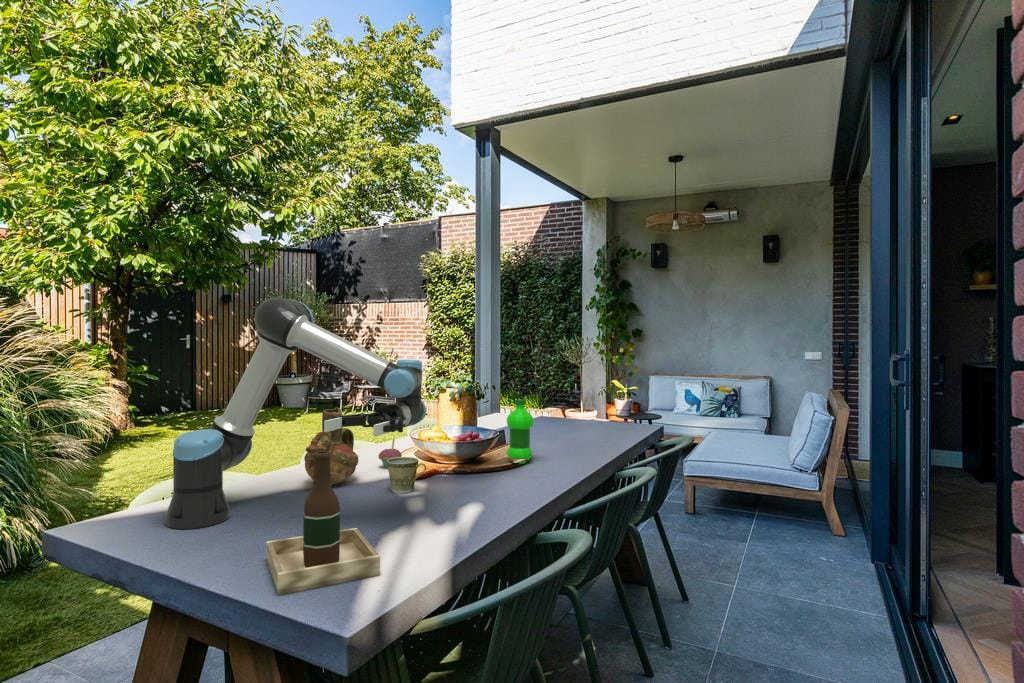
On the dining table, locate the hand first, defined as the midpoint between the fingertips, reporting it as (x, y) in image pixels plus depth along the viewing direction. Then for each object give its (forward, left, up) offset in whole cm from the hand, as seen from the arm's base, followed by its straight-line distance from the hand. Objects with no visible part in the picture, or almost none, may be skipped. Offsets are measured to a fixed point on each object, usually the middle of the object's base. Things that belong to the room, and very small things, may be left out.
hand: (349, 428), depth 138 cm
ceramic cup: (+27, +37, -28) cm, 54 cm away
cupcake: (+32, +71, -28) cm, 83 cm away
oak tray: (-9, -12, -28) cm, 31 cm away
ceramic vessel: (+7, +57, -28) cm, 64 cm away
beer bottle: (-9, -12, -27) cm, 31 cm away
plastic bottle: (+81, +57, -28) cm, 102 cm away
